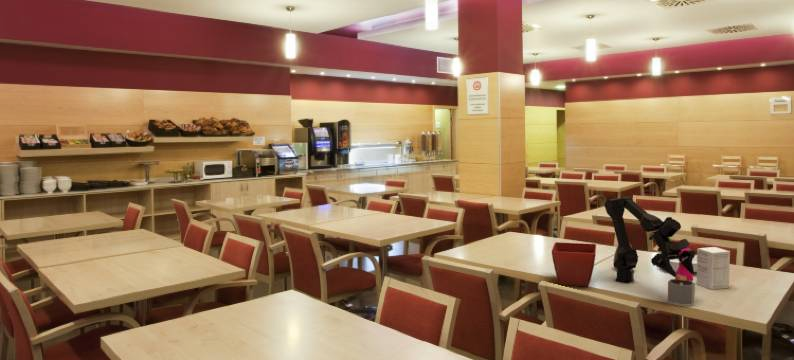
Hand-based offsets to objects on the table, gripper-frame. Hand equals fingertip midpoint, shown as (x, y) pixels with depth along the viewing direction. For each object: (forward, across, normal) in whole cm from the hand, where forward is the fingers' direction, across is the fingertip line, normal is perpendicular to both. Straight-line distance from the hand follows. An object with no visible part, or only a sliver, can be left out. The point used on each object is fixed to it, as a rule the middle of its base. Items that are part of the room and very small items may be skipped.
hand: (684, 275), depth 216 cm
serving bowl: (-18, +37, +36) cm, 54 cm away
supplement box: (-1, +30, +18) cm, 35 cm away
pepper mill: (-3, +17, +20) cm, 26 cm away
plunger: (+5, 0, +7) cm, 9 cm away
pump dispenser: (-26, +12, +44) cm, 52 cm away
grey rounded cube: (+7, 0, +9) cm, 12 cm away
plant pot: (-21, -23, +38) cm, 49 cm away
